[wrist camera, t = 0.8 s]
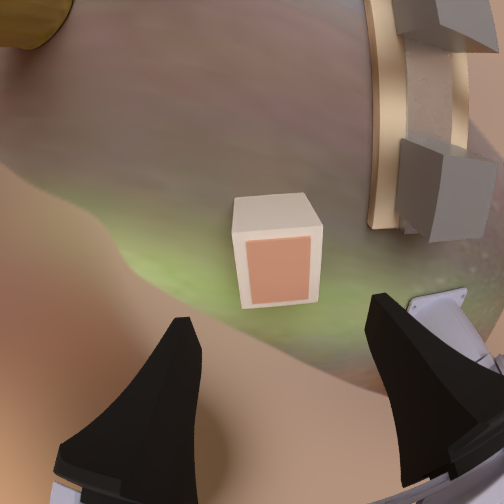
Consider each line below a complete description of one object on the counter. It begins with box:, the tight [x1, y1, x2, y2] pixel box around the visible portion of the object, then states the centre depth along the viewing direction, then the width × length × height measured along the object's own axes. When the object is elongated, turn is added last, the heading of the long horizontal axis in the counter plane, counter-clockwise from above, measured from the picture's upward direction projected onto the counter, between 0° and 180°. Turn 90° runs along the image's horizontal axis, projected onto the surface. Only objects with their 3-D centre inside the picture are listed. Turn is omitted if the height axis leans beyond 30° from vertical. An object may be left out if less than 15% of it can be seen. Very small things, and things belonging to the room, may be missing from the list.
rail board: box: [364, 0, 499, 243], centre depth 11 cm, size 20×8×6 cm, turn 5°
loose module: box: [232, 193, 323, 309], centre depth 17 cm, size 5×4×5 cm
